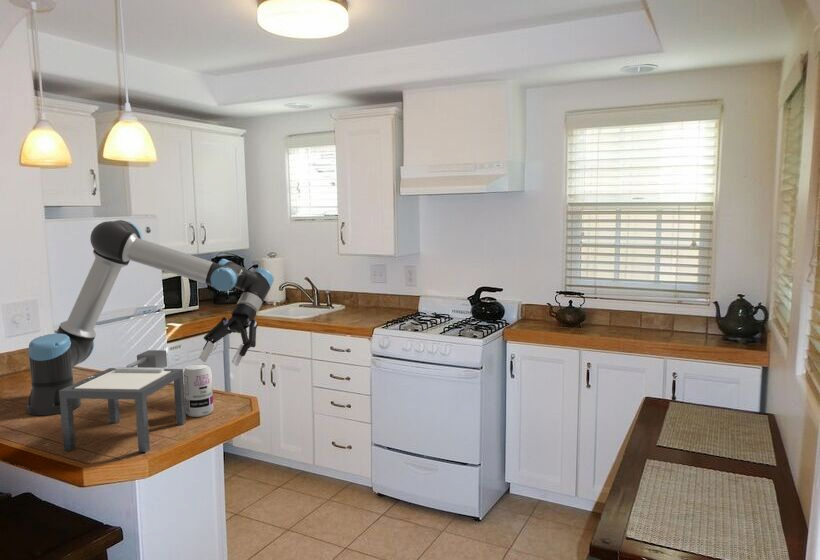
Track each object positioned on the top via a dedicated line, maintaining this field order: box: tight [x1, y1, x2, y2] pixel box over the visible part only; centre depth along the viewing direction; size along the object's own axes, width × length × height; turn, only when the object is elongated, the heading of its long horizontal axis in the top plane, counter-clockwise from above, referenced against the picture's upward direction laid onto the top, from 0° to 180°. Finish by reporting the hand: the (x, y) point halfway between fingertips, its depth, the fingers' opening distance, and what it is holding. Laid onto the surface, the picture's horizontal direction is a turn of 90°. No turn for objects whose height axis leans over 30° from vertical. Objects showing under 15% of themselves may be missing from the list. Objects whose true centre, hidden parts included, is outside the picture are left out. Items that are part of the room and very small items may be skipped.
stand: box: [59, 367, 187, 454], centre depth 173 cm, size 23×23×16 cm
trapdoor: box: [74, 349, 171, 390], centre depth 180 cm, size 18×35×5 cm, turn 174°
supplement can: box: [183, 363, 214, 418], centre depth 192 cm, size 8×8×15 cm
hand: (218, 361), depth 198 cm, fingers open, 13 cm apart
